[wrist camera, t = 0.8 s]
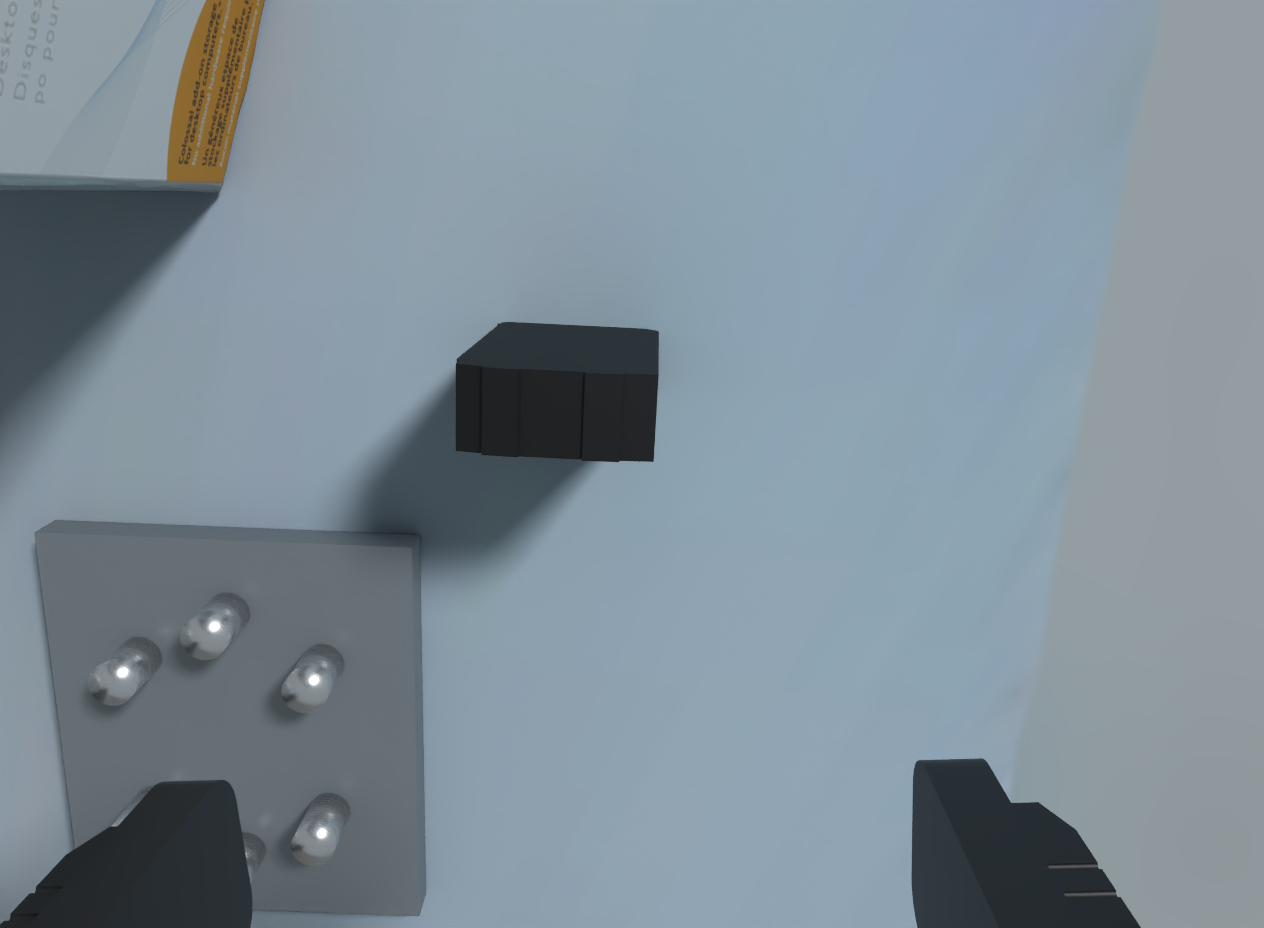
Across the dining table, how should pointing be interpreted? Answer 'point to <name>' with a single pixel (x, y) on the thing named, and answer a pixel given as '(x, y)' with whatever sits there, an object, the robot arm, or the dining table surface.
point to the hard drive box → (122, 92)
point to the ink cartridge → (559, 393)
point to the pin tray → (249, 694)
